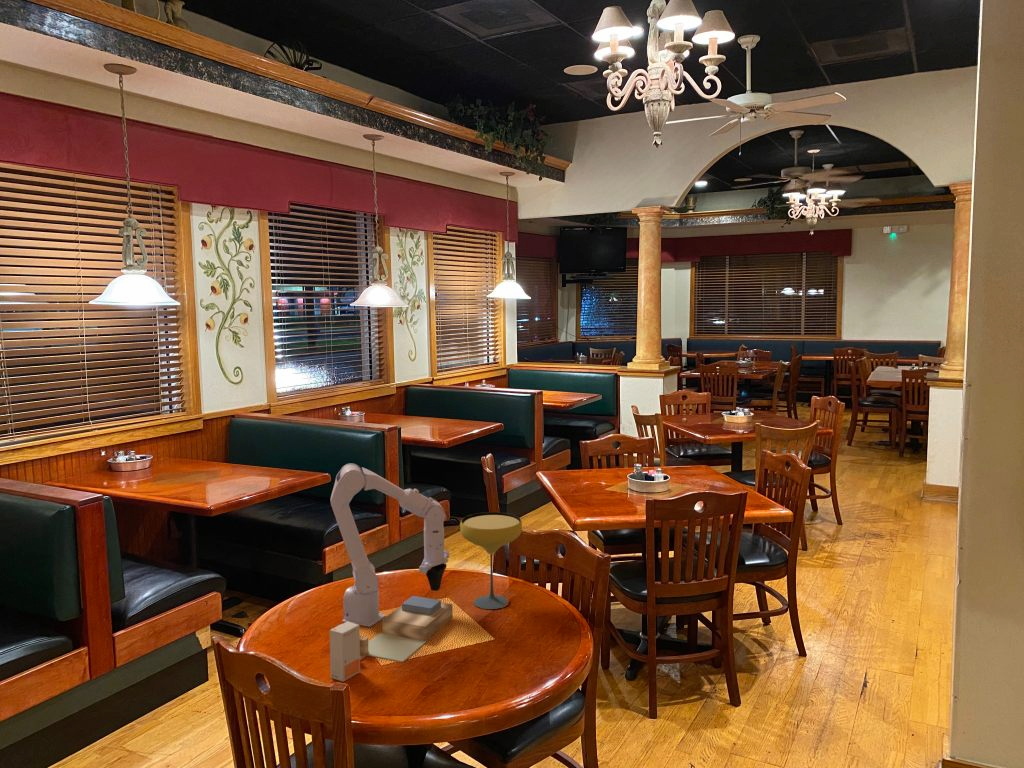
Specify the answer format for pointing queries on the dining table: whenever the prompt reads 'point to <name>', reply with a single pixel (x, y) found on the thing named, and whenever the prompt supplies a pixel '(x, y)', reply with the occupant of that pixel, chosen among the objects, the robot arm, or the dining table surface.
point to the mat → (393, 647)
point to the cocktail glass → (491, 543)
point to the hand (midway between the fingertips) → (435, 589)
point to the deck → (416, 623)
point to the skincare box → (345, 651)
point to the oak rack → (363, 647)
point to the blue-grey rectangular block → (421, 605)
